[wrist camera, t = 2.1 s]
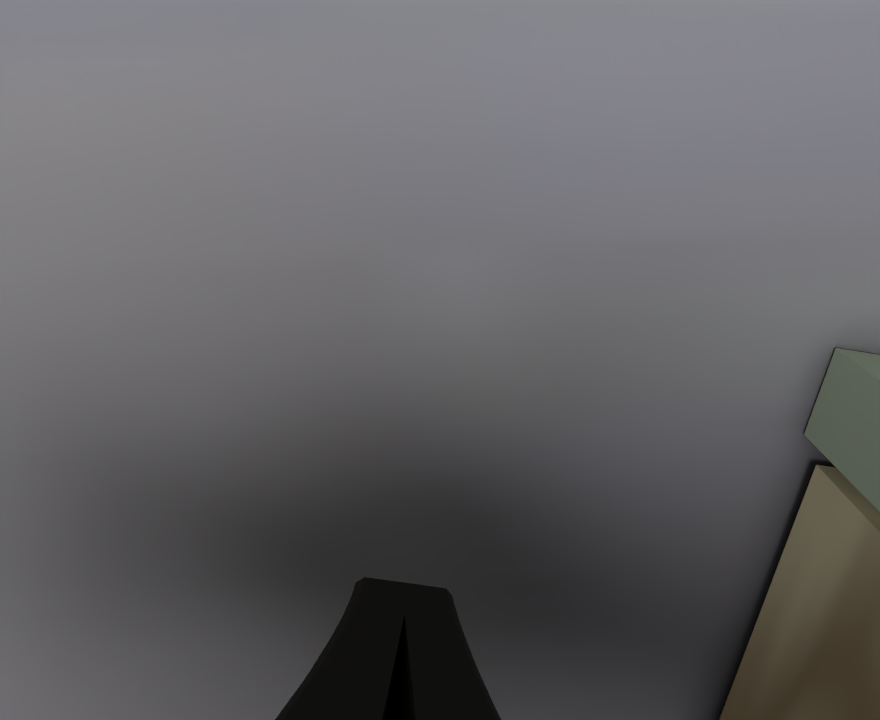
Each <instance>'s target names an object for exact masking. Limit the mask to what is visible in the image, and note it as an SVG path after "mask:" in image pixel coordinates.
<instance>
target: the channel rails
mask: <svg viewBox="0 0 880 720" xmlns="http://www.w3.org/2000/svg"><path fill="white" fill-rule="evenodd" d="M804 435H805V436H806V437H807V438H808V439H809V440H810V441H811V442H812V443H813V444H814V445H815V446H816V448H817V449H818V450H819V451H820V452H821V453H822V454H823V455H824V456H825V457H826V458H827V459H828V460H829V461H830V462H831V463H832V464H833V465H834V466H835V467H836V468H837V469H838V470H839V471H840V472H841V473H842V474H843V475H844V476H845V477H846V478H847V479H848V480H849V481H850V482H851V483H852V484H853V485H854V486H855V487H856V488H857V489H858V491H859V492H860V493H861V494H862V495H863V496H864V497H865V498H866V499H867V500H868V501H869V502H870V503H871V504H872V505H873V506H874V507H875V508H876V509H877V510H878V511H879V512H880V355H878V354H871V353H865V352H859V351H852V350H846V349H840V348H835V351H834V354H833V357H832V359H831V362H830V365H829V368H828V370H827V373H826V376H825V378H824V381H823V384H822V387H821V389H820V392H819V395H818V397H817V400H816V403H815V406H814V408H813V411H812V414H811V416H810V419H809V422H808V425H807V427H806V430H805V433H804Z"/></svg>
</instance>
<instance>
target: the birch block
mask: <svg viewBox="0 0 880 720" xmlns="http://www.w3.org/2000/svg"><path fill="white" fill-rule="evenodd" d="M719 720H880V512H879V511H878V510H877V509H876V508H875V507H874V506H873V505H872V504H871V503H870V502H869V501H868V500H867V499H866V498H865V497H864V496H863V495H862V494H861V493H860V492H859V491H858V489H857V488H856V487H855V486H854V485H853V484H852V483H851V482H850V481H849V480H848V479H847V478H846V477H845V476H844V475H843V474H842V473H841V472H840V471H839V470H838V469H837V468H835V467H829V466H822V465H816V466H815V469H814V472H813V474H812V477H811V480H810V482H809V485H808V487H807V490H806V493H805V495H804V498H803V501H802V503H801V506H800V509H799V511H798V514H797V516H796V519H795V522H794V524H793V527H792V530H791V532H790V535H789V537H788V540H787V543H786V545H785V548H784V551H783V553H782V556H781V559H780V561H779V564H778V566H777V569H776V572H775V574H774V577H773V580H772V582H771V585H770V587H769V590H768V593H767V595H766V598H765V601H764V603H763V606H762V609H761V611H760V614H759V616H758V619H757V622H756V624H755V627H754V630H753V632H752V635H751V638H750V640H749V643H748V645H747V648H746V651H745V653H744V656H743V659H742V661H741V664H740V666H739V669H738V672H737V674H736V677H735V680H734V682H733V685H732V688H731V690H730V693H729V695H728V698H727V701H726V703H725V706H724V709H723V711H722V714H721V716H720V719H719Z"/></svg>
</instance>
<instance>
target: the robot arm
mask: <svg viewBox="0 0 880 720" xmlns="http://www.w3.org/2000/svg"><path fill="white" fill-rule="evenodd" d="M275 720H501V719H500V717H499V715H498V713H497V711H496V709H495V706H494V704H493V702H492V700H491V698H490V696H489V693H488V691H487V689H486V687H485V685H484V682H483V680H482V678H481V676H480V674H479V671H478V669H477V666H476V664H475V662H474V659H473V657H472V654H471V652H470V649H469V646H468V644H467V641H466V639H465V636H464V633H463V630H462V628H461V625H460V622H459V619H458V615H457V612H456V609H455V605H454V601H453V597H452V595H451V594H450V593H449V591H448V590H447V589H446V588H438V587H431V586H424V585H417V584H409V583H402V582H395V581H388V580H381V579H373V578H366V577H364V578H363V579H361V580H359V581H358V582H356V584H355V587H354V591H353V594H352V597H351V599H350V601H349V604H348V606H347V608H346V610H345V613H344V615H343V617H342V619H341V620H340V622H339V624H338V626H337V628H336V630H335V631H334V633H333V635H332V637H331V639H330V640H329V642H328V643H327V645H326V647H325V648H324V650H323V651H322V653H321V655H320V656H319V658H318V659H317V661H316V663H315V664H314V666H313V667H312V669H311V671H310V672H309V674H308V675H307V677H306V678H305V680H304V681H303V682H302V684H301V685H300V687H299V688H298V689H297V691H296V692H295V693H294V695H293V696H292V697H291V699H290V700H289V702H288V703H287V704H286V706H285V707H284V708H283V710H282V711H281V713H280V714H279V715H278V717H277V718H276V719H275Z"/></svg>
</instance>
